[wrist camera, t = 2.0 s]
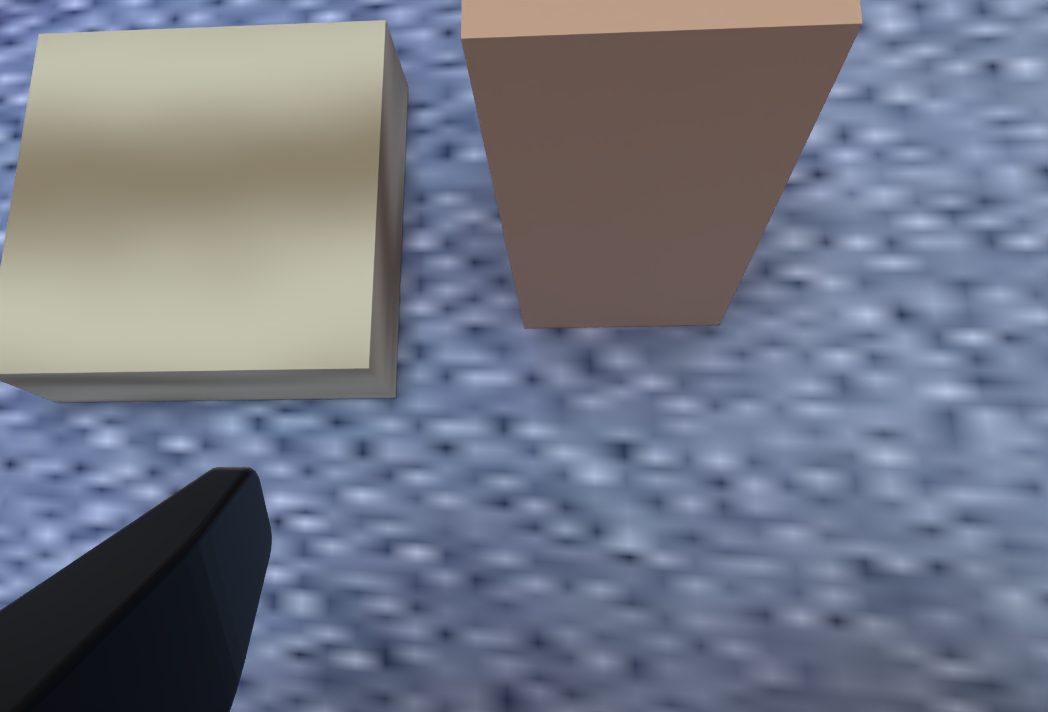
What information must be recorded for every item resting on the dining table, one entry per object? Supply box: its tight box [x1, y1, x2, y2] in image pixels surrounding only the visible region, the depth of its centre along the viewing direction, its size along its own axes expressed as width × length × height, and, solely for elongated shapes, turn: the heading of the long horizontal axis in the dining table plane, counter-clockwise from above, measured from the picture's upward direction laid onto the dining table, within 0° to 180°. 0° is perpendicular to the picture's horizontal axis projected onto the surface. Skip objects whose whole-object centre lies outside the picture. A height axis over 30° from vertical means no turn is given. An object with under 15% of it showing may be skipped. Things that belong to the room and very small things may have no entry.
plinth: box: [0, 20, 408, 402], centre depth 23 cm, size 9×9×3 cm
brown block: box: [461, 0, 862, 328], centre depth 18 cm, size 5×5×12 cm
